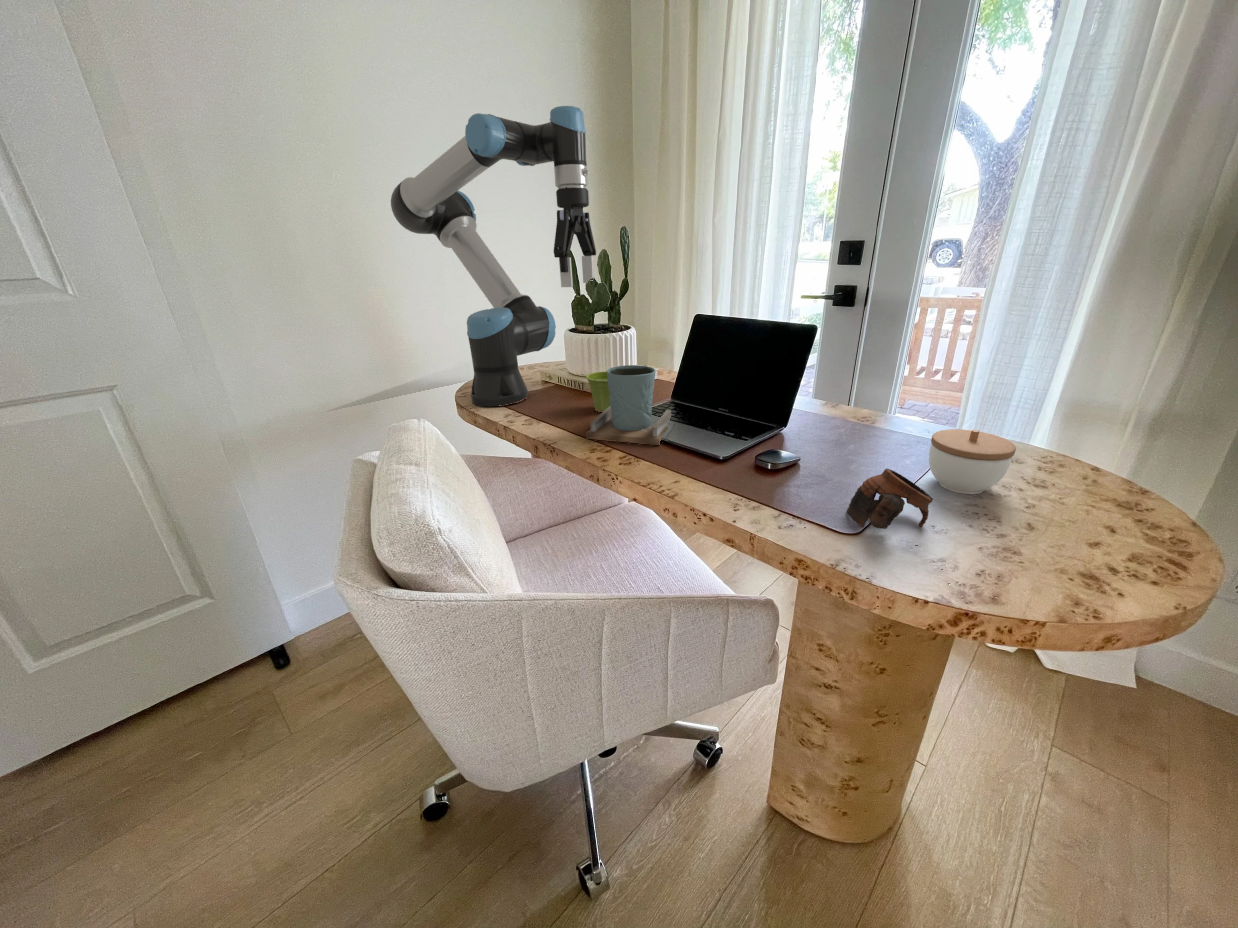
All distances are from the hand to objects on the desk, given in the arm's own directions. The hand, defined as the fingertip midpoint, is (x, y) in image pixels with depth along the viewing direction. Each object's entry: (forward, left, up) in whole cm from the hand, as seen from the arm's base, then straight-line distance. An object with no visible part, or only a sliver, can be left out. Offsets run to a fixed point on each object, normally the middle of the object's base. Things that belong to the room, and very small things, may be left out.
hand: (578, 285), depth 123 cm
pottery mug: (+67, -51, -29) cm, 89 cm away
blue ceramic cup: (+21, -24, -27) cm, 42 cm away
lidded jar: (+80, -36, -29) cm, 92 cm away
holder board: (+21, -24, -29) cm, 43 cm away
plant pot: (+10, -10, -29) cm, 32 cm away
